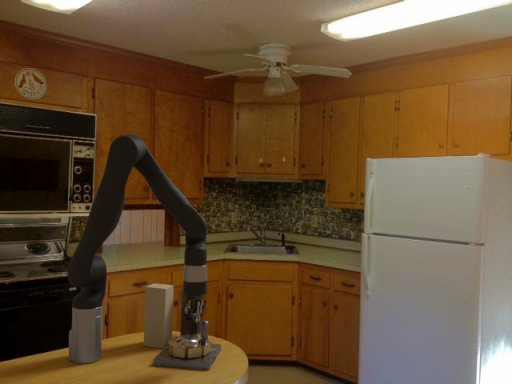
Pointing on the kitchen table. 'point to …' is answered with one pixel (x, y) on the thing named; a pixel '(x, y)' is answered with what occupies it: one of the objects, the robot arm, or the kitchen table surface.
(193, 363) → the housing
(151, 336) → the light grey tall block
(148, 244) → the kitchen table surface
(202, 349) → the tan block ring
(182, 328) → the candle
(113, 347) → the kitchen table surface
